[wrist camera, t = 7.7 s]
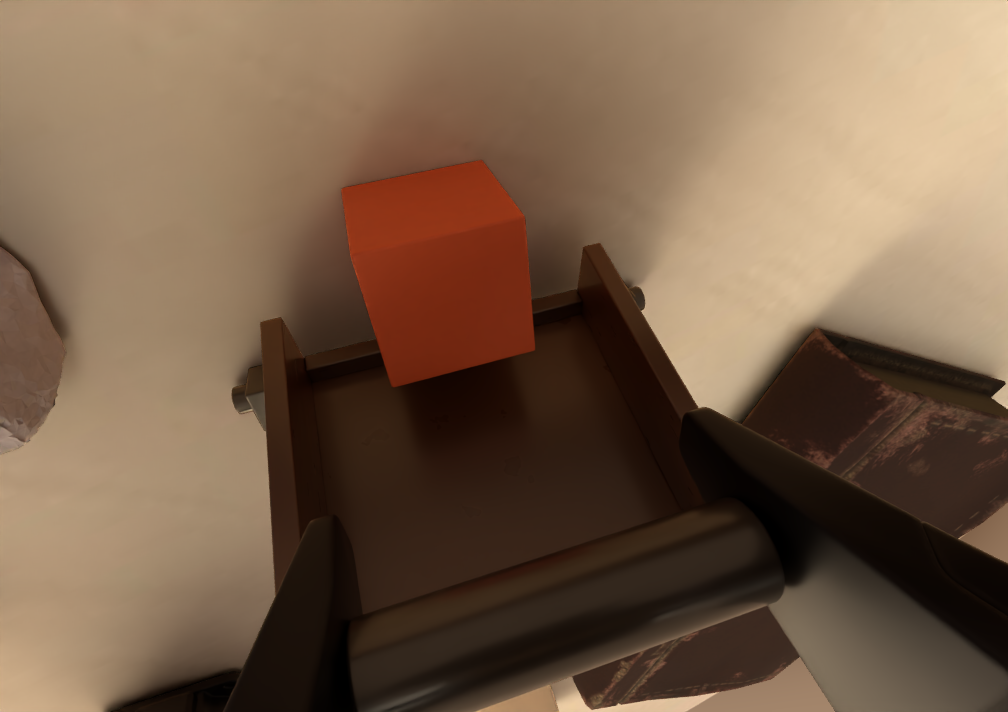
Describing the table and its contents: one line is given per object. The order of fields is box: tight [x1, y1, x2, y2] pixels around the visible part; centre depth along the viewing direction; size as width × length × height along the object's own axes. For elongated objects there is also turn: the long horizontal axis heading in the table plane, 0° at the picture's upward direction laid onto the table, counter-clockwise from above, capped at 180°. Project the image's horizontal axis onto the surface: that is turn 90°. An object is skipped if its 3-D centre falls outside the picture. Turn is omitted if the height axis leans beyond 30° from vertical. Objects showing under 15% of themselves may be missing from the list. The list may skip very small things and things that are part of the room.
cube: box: [341, 160, 535, 387], centre depth 15 cm, size 4×4×4 cm
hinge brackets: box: [232, 286, 645, 431], centre depth 18 cm, size 2×14×1 cm, turn 96°
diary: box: [572, 328, 1008, 710], centre depth 32 cm, size 19×25×5 cm
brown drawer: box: [260, 243, 785, 712], centre depth 13 cm, size 11×10×7 cm
